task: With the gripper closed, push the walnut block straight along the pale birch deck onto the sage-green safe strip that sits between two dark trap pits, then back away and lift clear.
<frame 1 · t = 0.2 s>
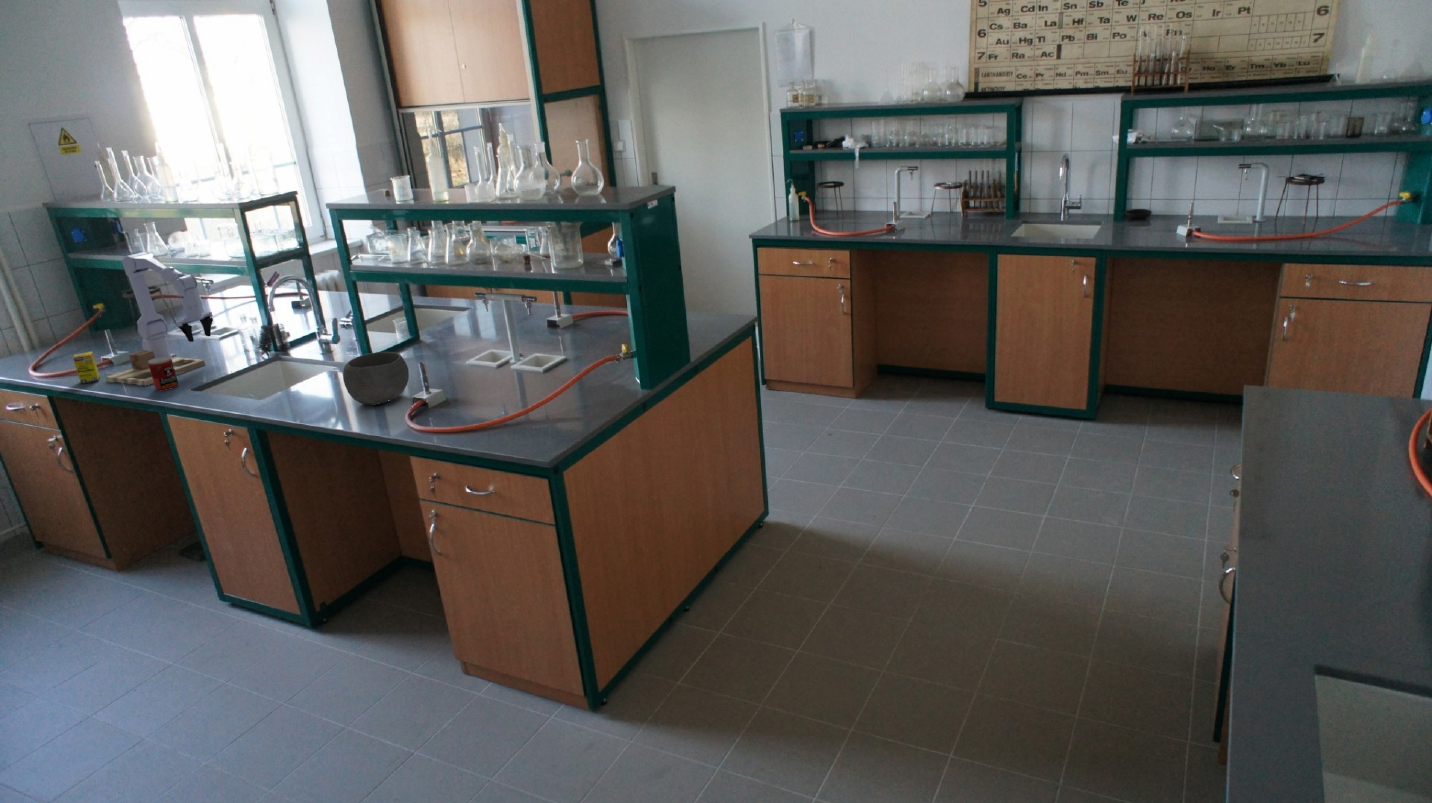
hand: (199, 338, 372), 10 cm above the worktop, tool pointing down, fingers open, 7 cm apart
canned food: (167, 387, 348), on the worktop
trap deck: (157, 372, 366), on the worktop
bowl: (381, 401, 319), on the worktop
walnut block: (145, 367, 367), point 2 cm above the worktop, touching trap deck
supplement box: (91, 381, 361), on the worktop
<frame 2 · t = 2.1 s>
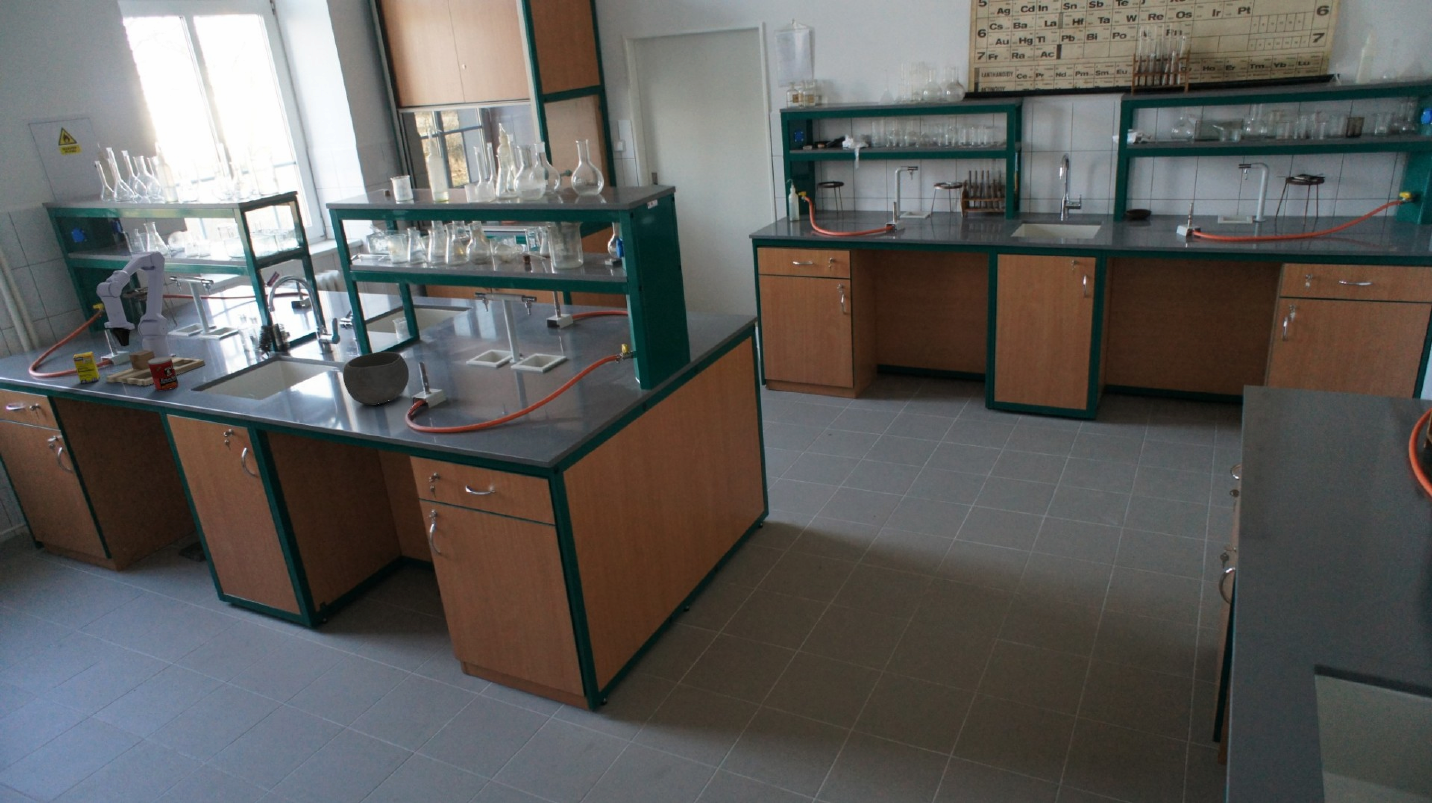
hand: (125, 345, 367), 10 cm above the worktop, tool pointing down, fingers closed
nothing on the worktop moved.
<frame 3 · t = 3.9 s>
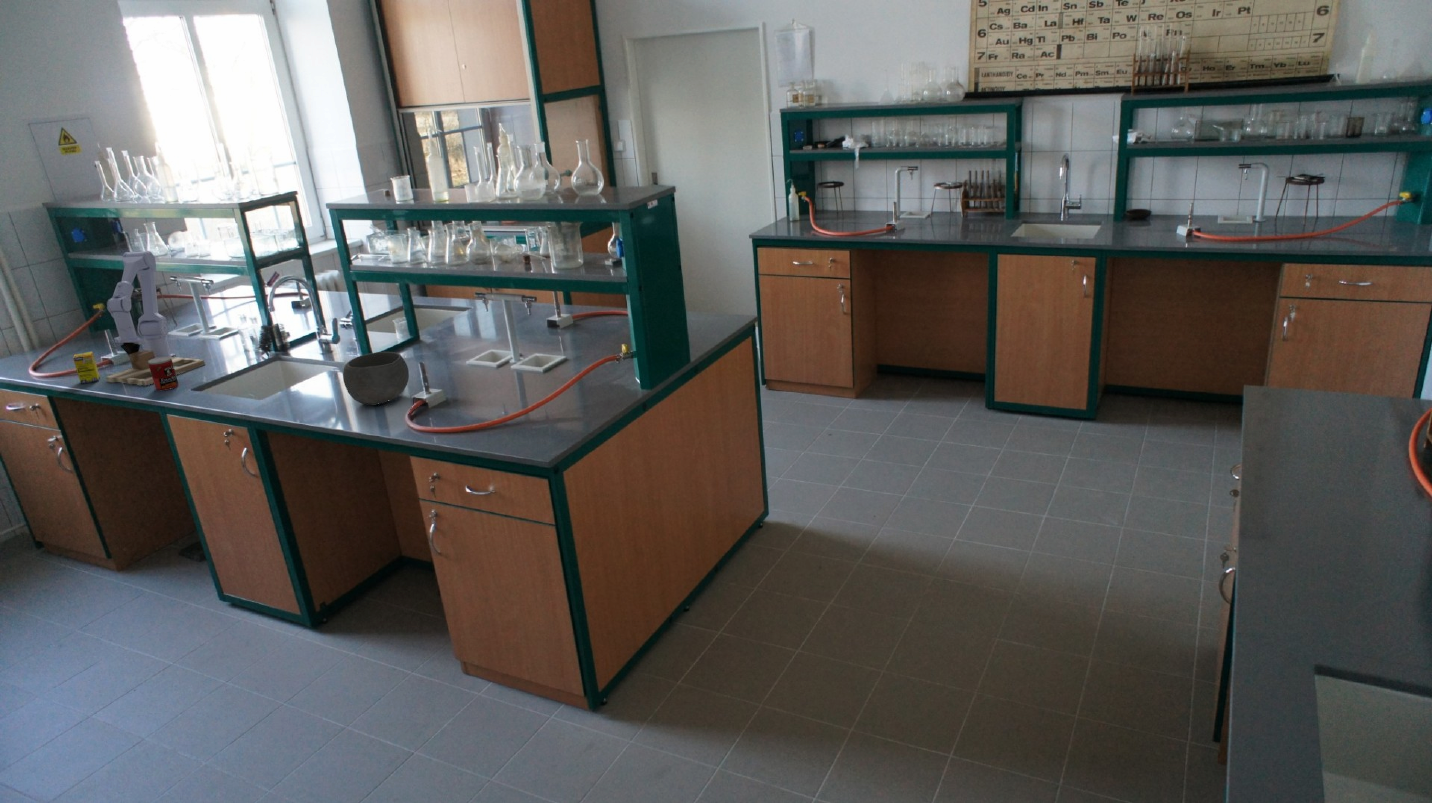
hand: (135, 360, 368), 4 cm above the worktop, tool pointing down, fingers closed
walnut block: (145, 367, 367), point 2 cm above the worktop, touching gripper, trap deck
everything else where it was.
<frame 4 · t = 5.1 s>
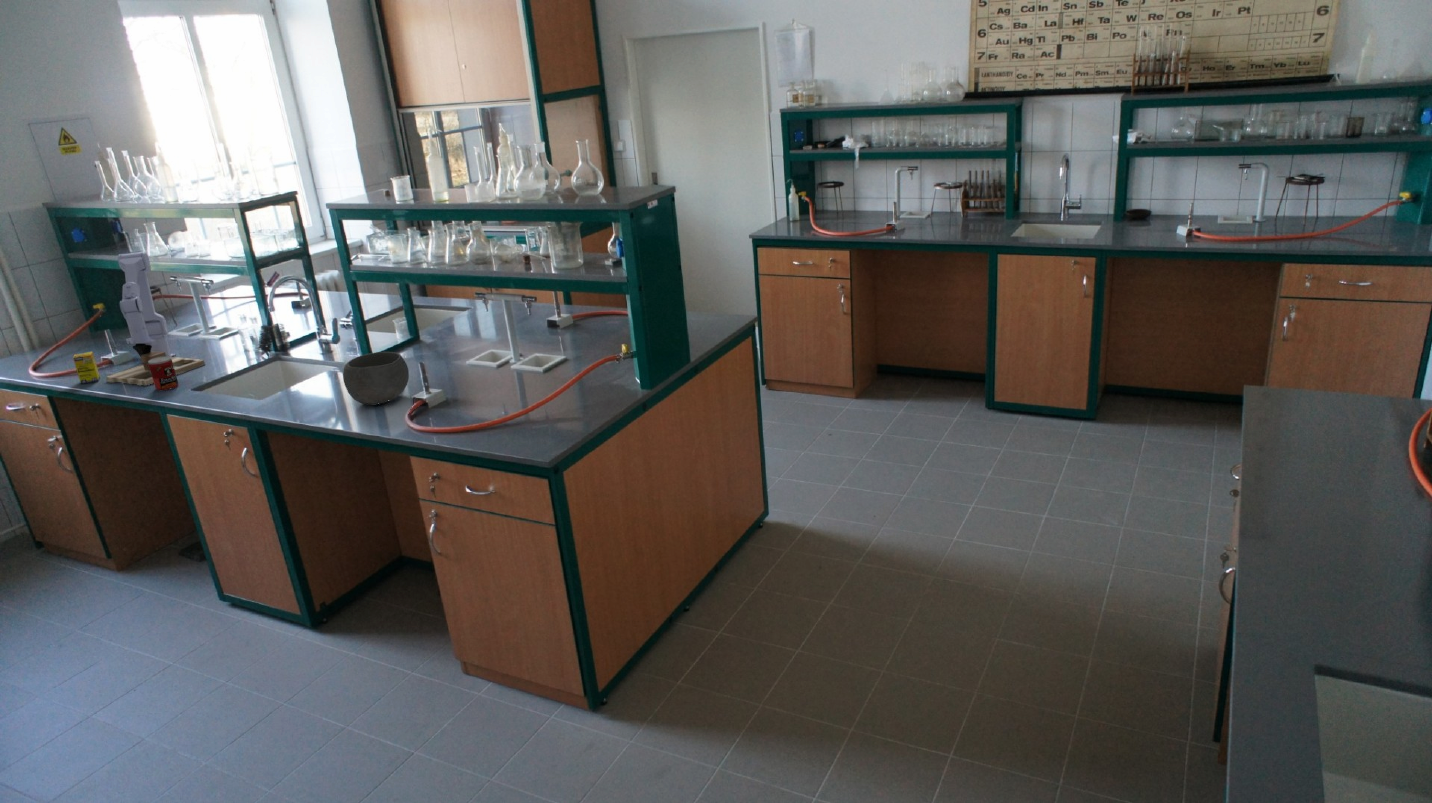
hand: (147, 361, 366), 4 cm above the worktop, tool pointing down, fingers closed
walnut block: (156, 368, 365), point 2 cm above the worktop, touching gripper, trap deck
everything else where it was.
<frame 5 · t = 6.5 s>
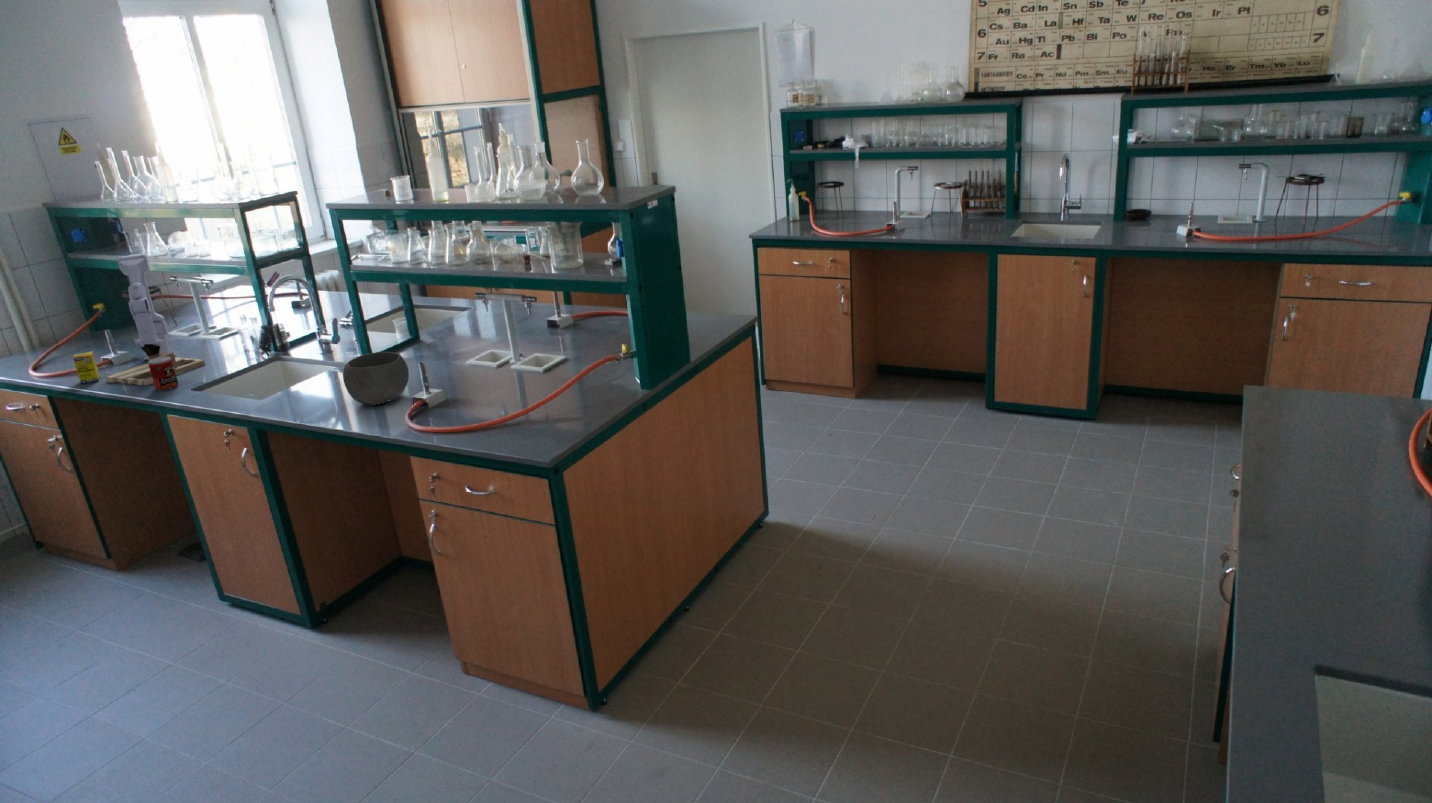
hand: (155, 362, 364), 4 cm above the worktop, tool pointing down, fingers closed
walnut block: (165, 369, 363), point 2 cm above the worktop, touching gripper, trap deck
everything else where it was.
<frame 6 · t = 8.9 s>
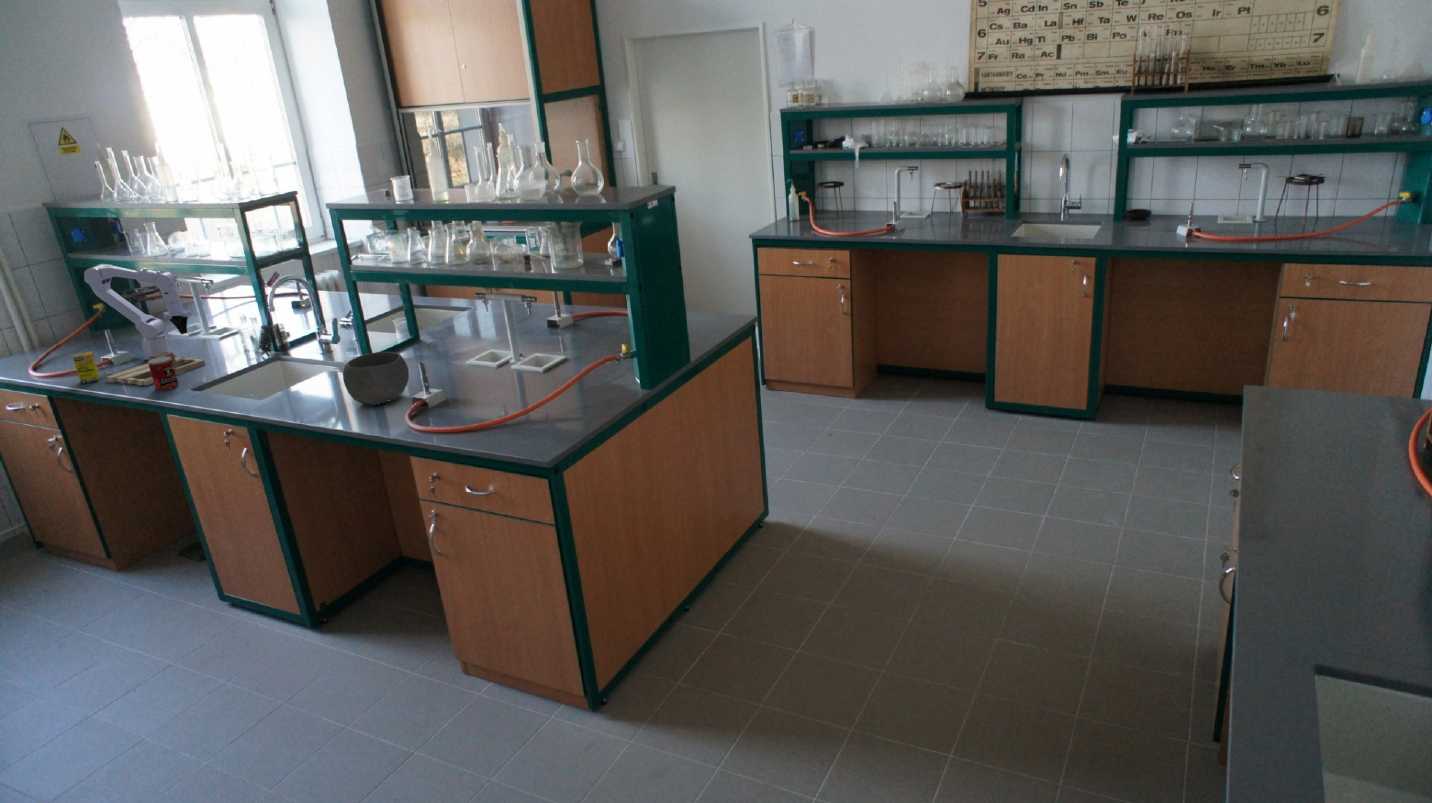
hand: (184, 333, 384), 9 cm above the worktop, tool pointing down, fingers closed
walnut block: (165, 369, 363), point 2 cm above the worktop, touching trap deck
everything else where it was.
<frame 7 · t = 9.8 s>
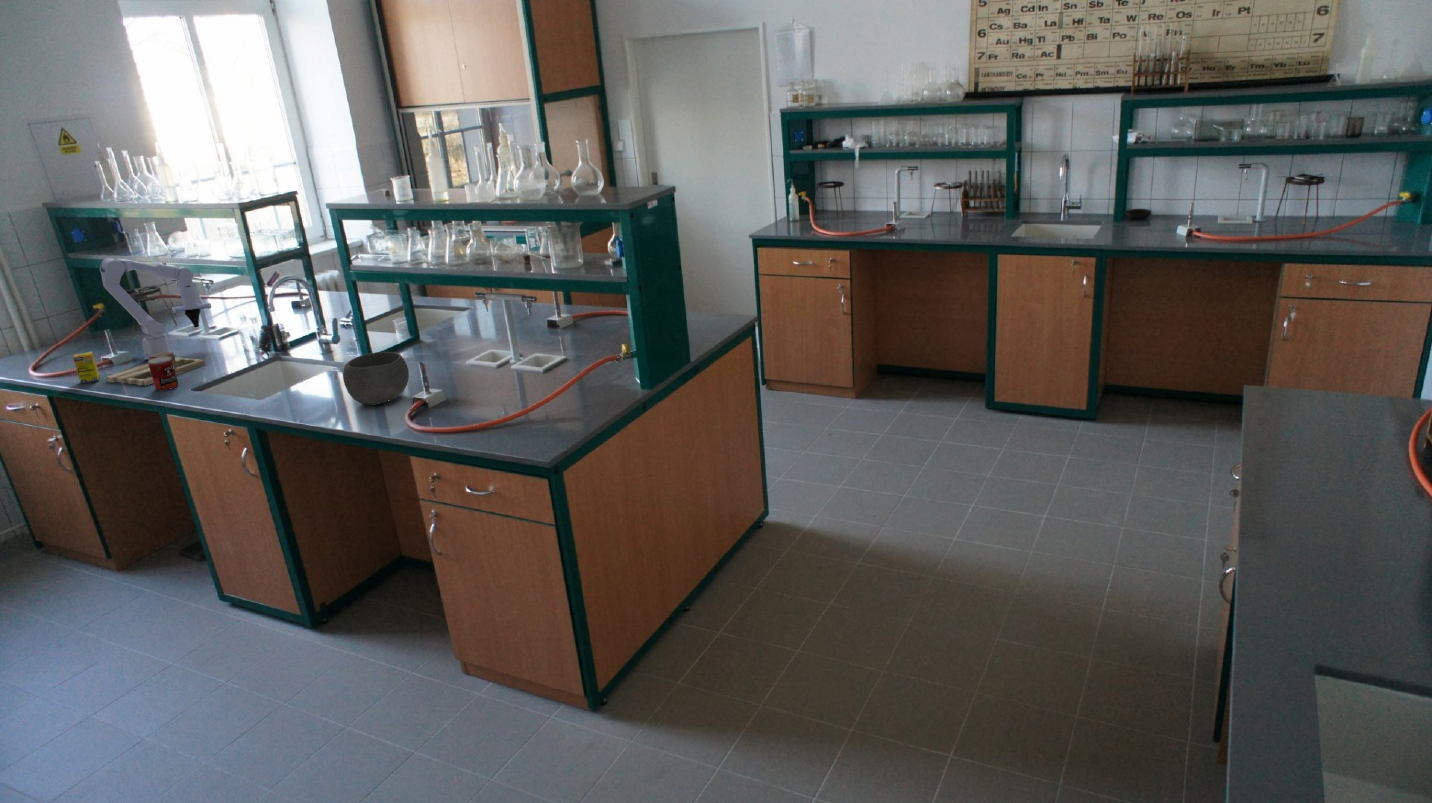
hand: (196, 326, 394), 9 cm above the worktop, tool pointing down, fingers closed
nothing on the worktop moved.
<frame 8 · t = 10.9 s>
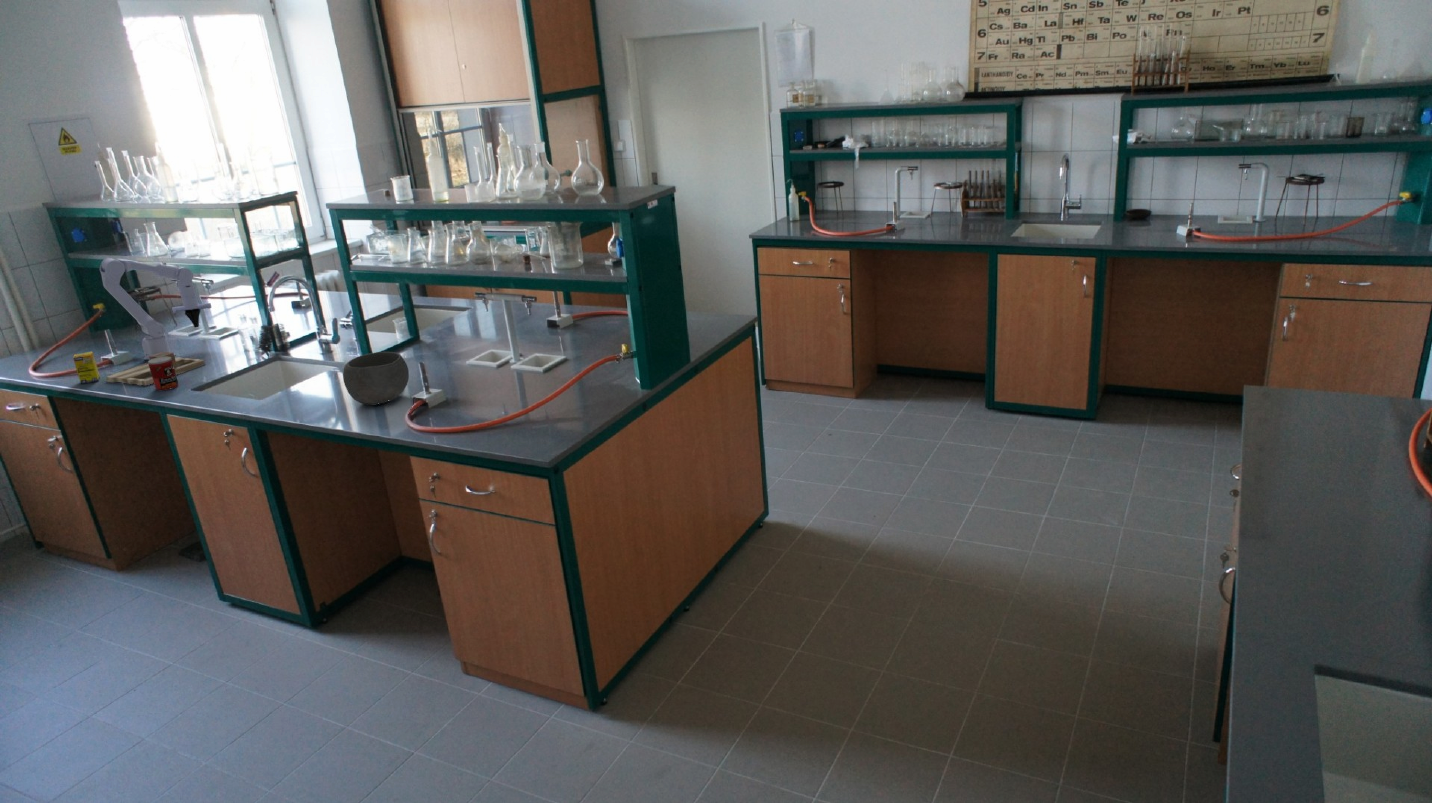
hand: (196, 326, 394), 9 cm above the worktop, tool pointing down, fingers closed
nothing on the worktop moved.
at the end: walnut block inside the target area on the trap deck (0.0 cm from its centre), point 2.0 cm above the trap deck's base; walnut block tilted 0°; walnut block moved 11.5 cm from its start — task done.
